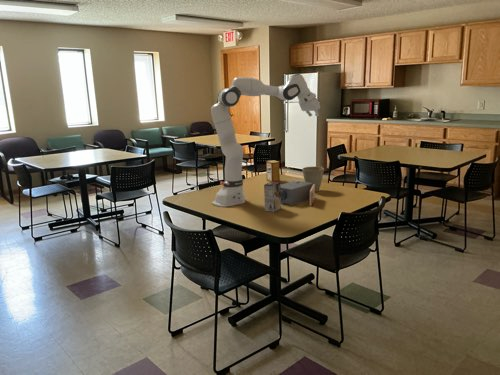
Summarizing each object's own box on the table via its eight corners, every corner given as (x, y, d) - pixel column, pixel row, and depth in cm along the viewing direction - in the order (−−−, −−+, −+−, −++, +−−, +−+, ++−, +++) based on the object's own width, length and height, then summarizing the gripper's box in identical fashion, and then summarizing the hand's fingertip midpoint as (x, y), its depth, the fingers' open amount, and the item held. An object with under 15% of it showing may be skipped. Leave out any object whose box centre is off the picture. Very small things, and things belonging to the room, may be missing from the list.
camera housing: (289, 205, 250) (289, 188, 248) (272, 202, 260) (272, 185, 257) (313, 197, 266) (313, 181, 264) (296, 194, 276) (296, 179, 274)
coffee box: (272, 206, 249) (271, 181, 246) (281, 208, 246) (280, 182, 242) (264, 210, 242) (263, 184, 238) (274, 212, 239) (273, 185, 235)
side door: (312, 205, 247) (312, 191, 245) (309, 205, 248) (309, 191, 245) (316, 197, 265) (316, 184, 263) (313, 197, 266) (313, 183, 264)
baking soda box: (279, 181, 318) (279, 161, 314) (272, 182, 315) (271, 162, 312) (273, 179, 326) (273, 159, 323) (266, 180, 324) (266, 160, 320)
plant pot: (310, 187, 296) (310, 165, 292) (328, 190, 286) (328, 167, 282) (298, 191, 286) (297, 168, 282) (315, 194, 275) (315, 171, 272)
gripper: (294, 100, 272) (303, 118, 276) (308, 98, 253) (318, 118, 257) (301, 95, 273) (310, 113, 277) (316, 93, 254) (325, 113, 258)
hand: (314, 116), depth 267 cm, fingers open, 8 cm apart
